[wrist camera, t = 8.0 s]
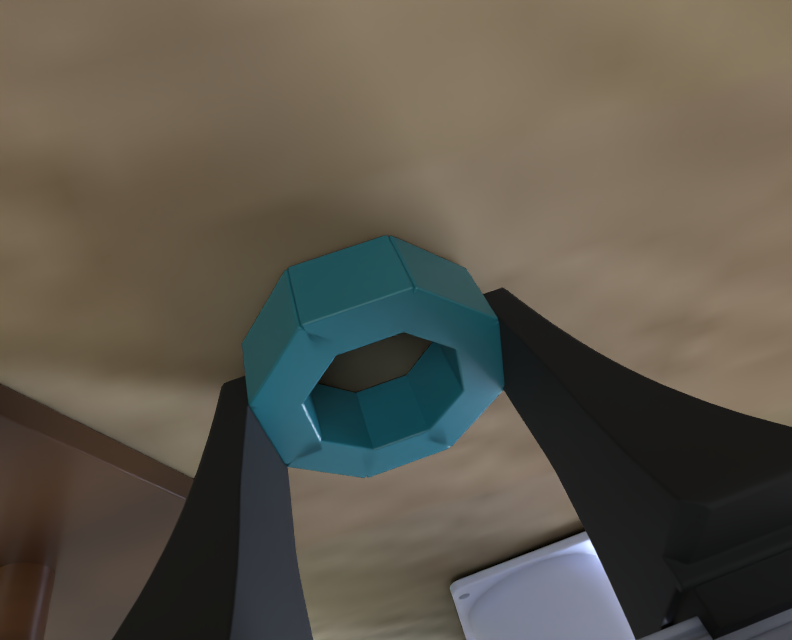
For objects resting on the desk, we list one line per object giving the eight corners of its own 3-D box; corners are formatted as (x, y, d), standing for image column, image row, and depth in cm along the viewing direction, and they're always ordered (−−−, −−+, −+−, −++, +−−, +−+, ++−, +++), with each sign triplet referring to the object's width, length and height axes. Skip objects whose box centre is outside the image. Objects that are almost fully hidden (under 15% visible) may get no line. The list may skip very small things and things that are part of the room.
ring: (481, 374, 16) (510, 427, 15) (294, 440, 16) (304, 501, 14) (459, 210, 12) (495, 259, 11) (210, 292, 12) (214, 355, 10)
